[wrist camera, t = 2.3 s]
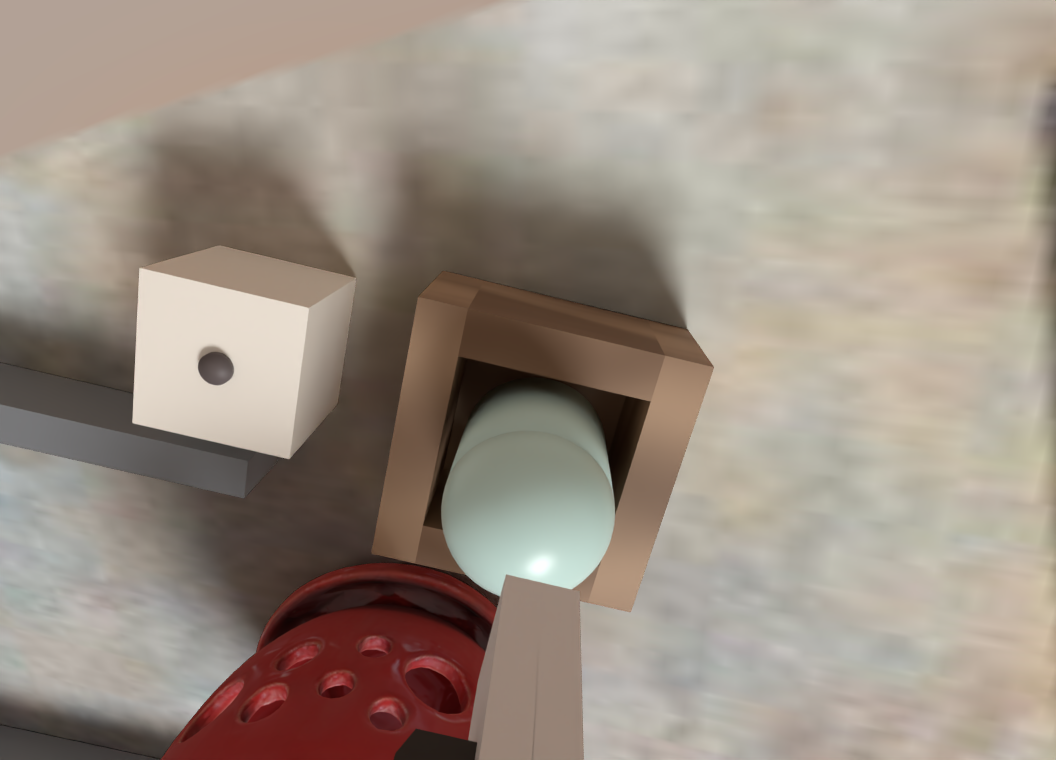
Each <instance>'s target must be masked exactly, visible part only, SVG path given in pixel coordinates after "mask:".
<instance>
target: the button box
mask: <svg viewBox="0 0 1056 760" xmlns="http://www.w3.org/2000/svg"><path fill="white" fill-rule="evenodd" d="M713 369H714V367H713V365H712V364H711V362H710V361H709V359H708V358H707V356H706V355H705V354H704V352H703V351H702V349H701V348H700V346H699V345H698V344H697V342H696V341H695V339H694V338H693V336H692V335H691V333H690V332H689V331H688V329H684V328H680V327H676V326H672V325H667V324H663V323H659V322H655V321H651V320H647V319H642V318H638V317H634V316H630V315H626V314H622V313H617V312H613V311H609V310H605V309H601V308H597V307H592V306H588V305H584V304H580V303H576V302H572V301H567V300H563V299H559V298H555V297H551V296H547V295H542V294H538V293H534V292H530V291H526V290H522V289H517V288H513V287H509V286H505V285H501V284H497V283H492V282H488V281H484V280H480V279H476V278H472V277H467V276H463V275H459V274H455V273H451V272H447V271H442V272H441V273H440V275H439V276H438V277H437V278H436V279H435V280H434V281H433V282H432V283H431V284H430V285H429V286H428V287H427V288H426V289H425V290H424V291H423V292H422V293H421V294H420V295H419V296H418V300H417V306H416V311H415V316H414V322H413V327H412V333H411V338H410V344H409V349H408V355H407V360H406V366H405V371H404V377H403V382H402V388H401V393H400V399H399V404H398V410H397V415H396V420H395V426H394V431H393V437H392V442H391V448H390V453H389V459H388V464H387V470H386V475H385V481H384V486H383V492H382V497H381V503H380V508H379V514H378V519H377V524H376V530H375V535H374V541H373V546H372V552H371V554H375V555H380V556H384V557H389V558H393V559H397V560H402V561H406V562H411V563H415V564H420V565H424V566H428V567H433V568H437V569H442V570H446V571H450V572H455V573H459V574H464V575H466V574H465V573H464V572H463V570H462V569H461V568H460V567H459V565H458V564H457V563H456V561H455V559H454V558H453V556H452V554H451V552H450V550H449V548H448V546H447V543H446V540H445V536H444V533H443V528H442V519H441V505H442V498H443V492H444V489H445V485H446V482H447V479H448V476H449V473H450V470H451V467H452V464H453V461H454V458H455V456H456V453H457V450H458V447H459V444H460V441H461V438H462V435H463V432H464V429H465V427H466V424H467V421H468V418H469V416H470V414H471V412H472V410H473V409H474V407H475V406H476V404H477V403H478V402H479V401H480V400H481V398H482V397H484V396H485V395H486V394H487V393H488V392H489V391H491V390H492V389H494V388H495V387H497V386H499V385H501V384H503V383H506V382H508V381H511V380H515V379H520V378H528V377H539V378H547V379H552V380H555V381H559V382H561V383H564V384H566V385H568V386H570V387H571V388H573V389H575V390H576V391H578V392H579V393H580V394H581V395H583V396H584V397H585V398H586V399H587V400H588V401H589V402H590V403H591V405H592V406H593V408H594V409H595V410H596V412H597V414H598V416H599V418H600V420H601V423H602V426H603V430H604V435H605V441H606V448H607V454H608V461H609V468H610V474H611V481H612V488H613V494H614V503H615V522H614V529H613V533H612V537H611V541H610V544H609V546H608V549H607V551H606V553H605V554H604V556H603V558H602V560H601V561H600V563H599V565H598V566H597V567H596V568H595V570H594V571H593V572H592V573H591V574H590V575H589V576H588V577H587V578H586V579H585V580H584V581H583V582H581V583H580V584H579V585H577V586H576V587H574V588H573V589H572V590H576V591H580V601H583V602H587V603H592V604H596V605H601V606H605V607H609V608H614V609H618V610H623V611H627V612H631V610H632V607H633V604H634V601H635V598H636V595H637V592H638V589H639V587H640V584H641V581H642V578H643V575H644V572H645V569H646V566H647V563H648V560H649V557H650V554H651V551H652V548H653V545H654V542H655V539H656V537H657V534H658V531H659V528H660V525H661V522H662V519H663V516H664V513H665V510H666V507H667V504H668V501H669V498H670V495H671V492H672V489H673V487H674V484H675V481H676V478H677V475H678V472H679V469H680V466H681V463H682V460H683V457H684V454H685V451H686V448H687V445H688V442H689V439H690V437H691V434H692V431H693V428H694V425H695V422H696V419H697V416H698V413H699V410H700V407H701V404H702V401H703V398H704V395H705V392H706V389H707V387H708V384H709V381H710V378H711V375H712V372H713Z"/></svg>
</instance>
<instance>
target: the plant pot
mask: <svg viewBox="0 0 1056 760" xmlns="http://www.w3.org/2000/svg"><path fill="white" fill-rule="evenodd" d="M496 610H497V607H495V606H494V605H493V604H492V603H491V602H490V601H489V600H488V599H487V598H485V597H484V596H483V595H482V594H480V593H479V592H478V591H476V590H475V589H473V588H472V587H470V586H469V585H467V584H465V583H463V582H461V581H460V580H458V579H456V578H454V577H452V576H450V575H448V574H445V573H442V572H439V571H436V570H432V569H429V568H425V567H419V566H414V565H407V564H399V563H372V564H362V565H356V566H352V567H345V568H342V569H338V570H335V571H332V572H329V573H326V574H324V575H322V576H320V577H317V578H315V579H313V580H312V581H310V582H308V583H306V584H305V585H303V586H302V587H300V588H299V589H297V590H296V591H295V592H293V593H292V594H291V595H290V596H289V597H288V598H287V599H286V600H285V601H284V602H283V603H282V604H281V605H280V606H279V608H278V609H277V610H276V611H275V612H274V614H273V615H272V616H271V618H270V620H269V621H268V623H267V624H266V626H265V628H264V631H263V633H262V635H261V637H260V640H259V643H258V647H257V651H256V653H255V654H254V655H253V656H252V657H250V658H249V659H248V660H247V661H246V662H245V663H244V664H242V665H241V666H240V667H239V668H238V669H237V670H236V671H235V672H233V673H232V674H231V675H230V676H229V677H228V678H227V679H226V680H225V681H224V682H223V683H222V684H221V685H220V686H219V687H218V689H217V690H216V691H215V692H214V693H213V694H212V695H211V696H210V697H209V698H208V699H207V701H206V702H205V703H204V704H203V705H202V706H201V708H200V709H199V710H198V711H197V713H196V714H195V715H194V716H193V717H192V719H191V720H190V721H189V722H188V724H187V725H186V726H185V727H184V729H183V730H182V731H181V732H180V734H179V735H178V736H177V737H176V739H175V740H174V741H173V743H172V744H171V746H170V747H169V748H168V750H167V751H166V753H165V754H164V756H163V757H162V758H161V760H393V759H394V756H395V753H396V752H397V751H398V749H399V748H400V747H401V746H402V745H403V743H404V742H405V741H406V740H407V739H408V737H409V736H410V735H411V734H412V733H413V731H414V730H415V729H421V730H425V731H429V732H434V733H438V734H443V735H447V736H452V737H456V738H460V739H465V740H468V737H469V731H470V725H471V719H472V713H473V707H474V702H475V696H476V690H477V684H478V679H479V675H480V671H481V667H482V664H483V660H484V656H485V652H486V648H487V645H488V641H489V637H490V633H491V629H492V625H493V622H494V618H495V614H496Z"/></svg>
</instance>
